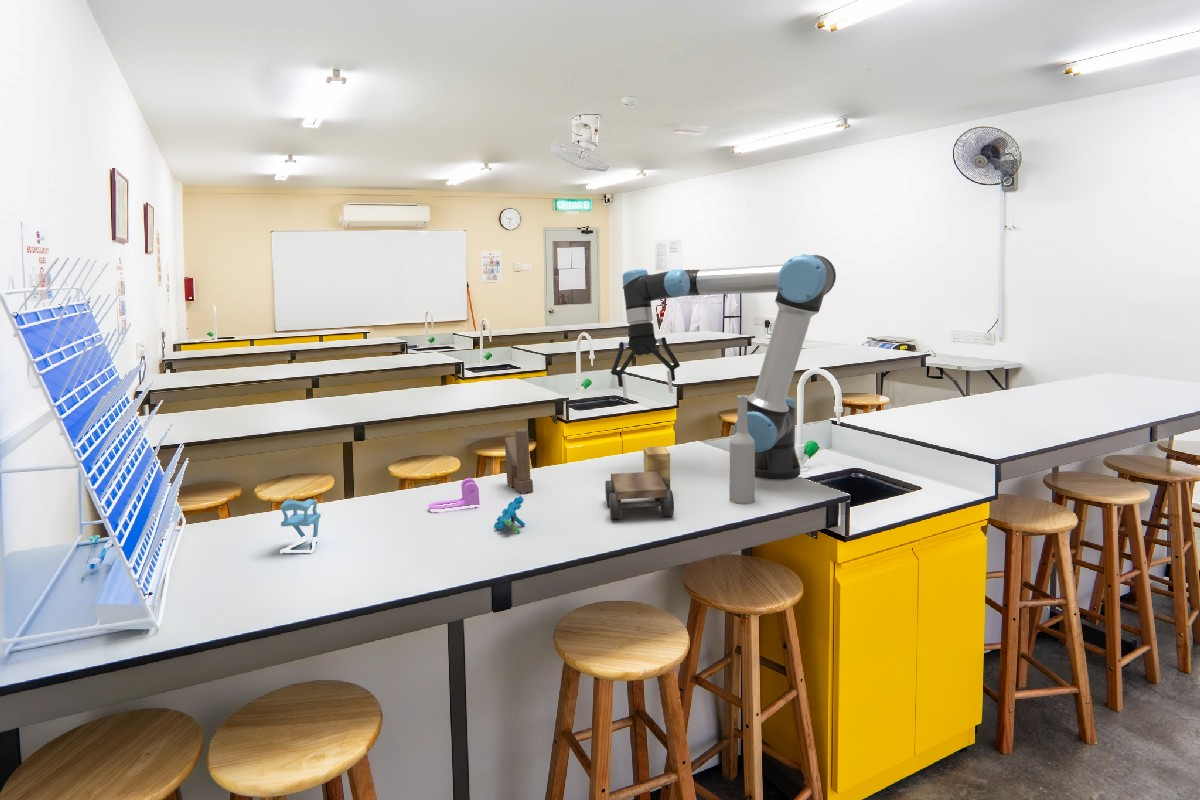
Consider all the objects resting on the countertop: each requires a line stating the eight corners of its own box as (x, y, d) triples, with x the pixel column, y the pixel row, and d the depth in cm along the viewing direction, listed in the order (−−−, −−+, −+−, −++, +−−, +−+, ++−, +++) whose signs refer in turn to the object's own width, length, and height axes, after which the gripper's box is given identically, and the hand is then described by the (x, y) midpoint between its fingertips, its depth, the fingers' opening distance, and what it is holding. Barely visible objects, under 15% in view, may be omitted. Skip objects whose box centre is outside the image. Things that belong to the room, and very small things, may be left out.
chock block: (665, 487, 207) (664, 446, 205) (670, 496, 199) (670, 453, 197) (644, 488, 207) (643, 447, 205) (648, 497, 199) (647, 454, 197)
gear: (495, 514, 184) (521, 487, 182) (512, 528, 186) (539, 502, 183) (488, 535, 174) (516, 507, 172) (507, 550, 175) (535, 523, 173)
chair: (327, 540, 174) (322, 492, 172) (312, 553, 166) (307, 502, 164) (295, 541, 175) (290, 492, 173) (279, 554, 167) (273, 503, 165)
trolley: (662, 497, 198) (662, 470, 197) (674, 519, 181) (673, 489, 180) (605, 500, 197) (604, 473, 196) (612, 522, 180) (611, 493, 179)
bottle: (724, 498, 196) (724, 395, 191) (744, 494, 199) (744, 392, 194) (739, 505, 190) (740, 399, 185) (760, 501, 193) (760, 396, 188)
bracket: (476, 501, 200) (474, 477, 199) (479, 508, 195) (478, 482, 194) (427, 508, 196) (425, 483, 195) (429, 514, 191) (427, 488, 190)
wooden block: (518, 483, 216) (515, 423, 213) (533, 492, 207) (530, 429, 204) (506, 485, 214) (503, 424, 211) (521, 494, 205) (518, 431, 202)
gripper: (680, 319, 220) (687, 390, 221) (597, 328, 219) (605, 399, 219) (684, 317, 212) (692, 390, 213) (598, 327, 211) (607, 400, 212)
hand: (648, 395), depth 216 cm, fingers open, 13 cm apart
